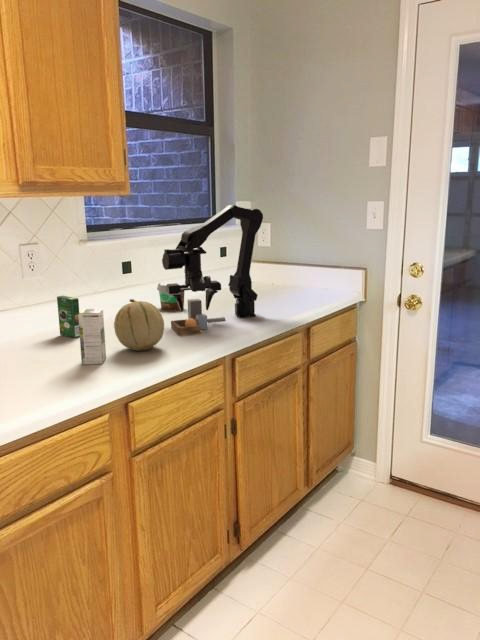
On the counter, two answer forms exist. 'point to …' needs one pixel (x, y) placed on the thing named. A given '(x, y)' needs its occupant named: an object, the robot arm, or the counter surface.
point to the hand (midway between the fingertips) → (194, 311)
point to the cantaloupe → (139, 325)
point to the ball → (190, 322)
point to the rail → (216, 319)
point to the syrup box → (92, 336)
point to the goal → (184, 327)
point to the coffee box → (68, 316)
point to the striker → (197, 312)
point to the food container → (169, 299)
